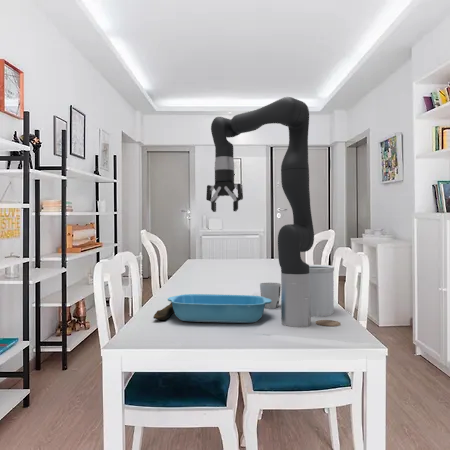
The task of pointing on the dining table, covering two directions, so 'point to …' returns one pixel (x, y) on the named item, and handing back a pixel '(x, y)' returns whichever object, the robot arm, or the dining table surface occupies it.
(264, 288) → the cup
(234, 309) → the casserole dish
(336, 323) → the cork coaster
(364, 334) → the dining table surface
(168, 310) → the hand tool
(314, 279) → the utensil holder
